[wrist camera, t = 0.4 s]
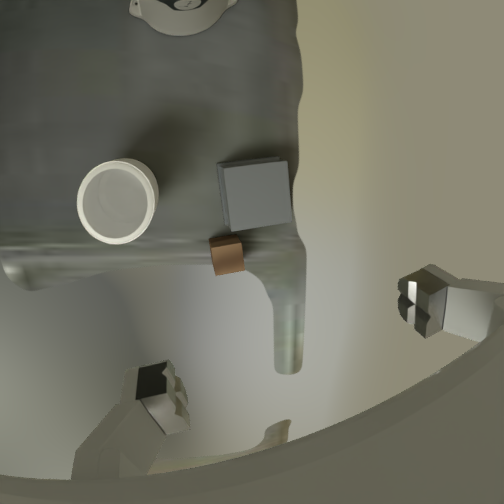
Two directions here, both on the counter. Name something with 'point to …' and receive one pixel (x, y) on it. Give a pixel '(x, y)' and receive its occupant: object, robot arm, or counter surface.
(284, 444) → the robot arm
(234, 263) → the cube
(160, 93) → the counter surface
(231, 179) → the pedestal
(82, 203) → the jar
